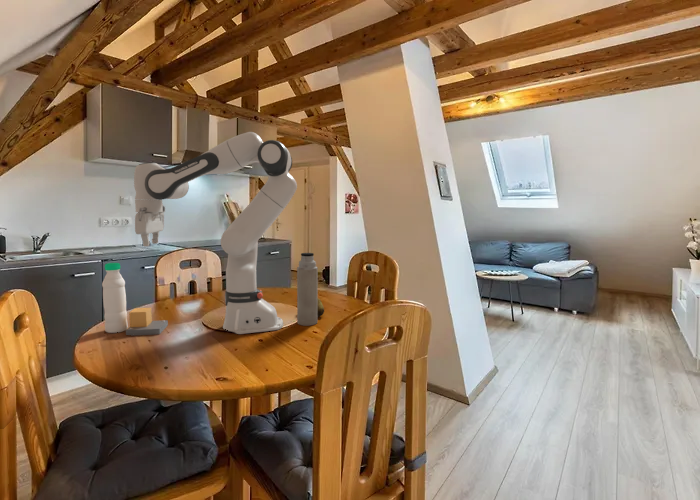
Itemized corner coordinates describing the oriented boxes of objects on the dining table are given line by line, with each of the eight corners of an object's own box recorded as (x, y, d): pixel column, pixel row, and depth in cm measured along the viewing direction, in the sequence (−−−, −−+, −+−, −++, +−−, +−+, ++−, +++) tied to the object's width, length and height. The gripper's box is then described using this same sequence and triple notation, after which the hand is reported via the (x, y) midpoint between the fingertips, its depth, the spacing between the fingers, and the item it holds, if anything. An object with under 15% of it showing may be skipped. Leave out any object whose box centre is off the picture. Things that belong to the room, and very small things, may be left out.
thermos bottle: (302, 318, 154) (302, 251, 151) (320, 320, 152) (320, 252, 148) (293, 324, 147) (293, 253, 143) (312, 326, 144) (312, 254, 141)
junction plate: (167, 325, 144) (167, 310, 143) (159, 334, 134) (158, 317, 133) (136, 326, 142) (136, 311, 141) (126, 335, 132) (125, 319, 131)
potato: (305, 319, 153) (305, 300, 152) (301, 310, 166) (301, 293, 165) (325, 318, 155) (325, 299, 154) (320, 309, 168) (320, 292, 167)
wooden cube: (151, 321, 141) (151, 307, 141) (146, 326, 136) (145, 311, 135) (135, 322, 140) (135, 308, 140) (130, 327, 135) (129, 312, 134)
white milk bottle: (117, 334, 133) (112, 265, 130) (100, 332, 135) (95, 264, 132) (132, 328, 140) (128, 262, 137) (116, 326, 141) (112, 261, 138)
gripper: (148, 208, 129) (150, 247, 130) (166, 207, 149) (168, 242, 150) (128, 207, 128) (130, 248, 129) (149, 207, 148) (151, 242, 149)
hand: (151, 244), depth 140 cm, fingers open, 8 cm apart
